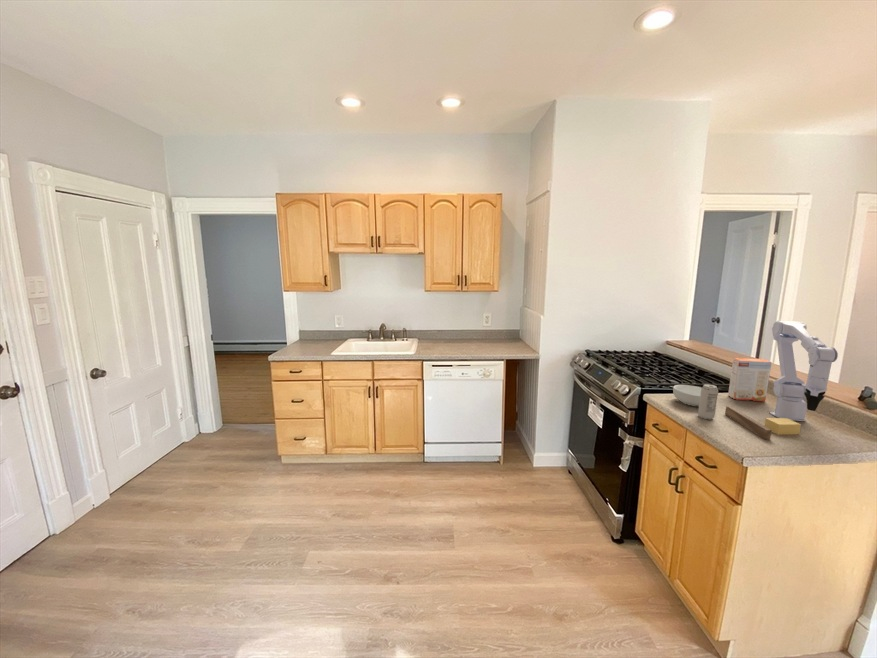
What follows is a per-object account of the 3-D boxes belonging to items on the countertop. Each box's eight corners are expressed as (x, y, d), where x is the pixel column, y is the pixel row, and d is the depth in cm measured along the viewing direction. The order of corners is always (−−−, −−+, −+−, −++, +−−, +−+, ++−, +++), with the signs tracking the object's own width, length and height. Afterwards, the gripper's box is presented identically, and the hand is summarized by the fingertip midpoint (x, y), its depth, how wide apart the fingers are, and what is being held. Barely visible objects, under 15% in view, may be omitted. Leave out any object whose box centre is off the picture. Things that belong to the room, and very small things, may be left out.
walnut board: (729, 414, 165) (731, 406, 164) (770, 439, 142) (771, 430, 141) (724, 414, 165) (726, 406, 165) (764, 439, 142) (766, 429, 141)
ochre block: (784, 427, 152) (786, 418, 151) (798, 434, 146) (800, 424, 145) (763, 428, 152) (765, 418, 151) (777, 434, 146) (779, 424, 145)
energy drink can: (707, 414, 165) (711, 383, 162) (717, 420, 159) (722, 388, 156) (694, 414, 165) (698, 383, 162) (704, 420, 159) (708, 388, 156)
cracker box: (758, 397, 185) (764, 358, 181) (765, 402, 179) (772, 362, 176) (726, 395, 188) (732, 357, 184) (733, 399, 183) (739, 360, 179)
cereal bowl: (720, 411, 168) (722, 397, 167) (680, 408, 172) (682, 394, 170) (701, 398, 185) (703, 385, 183) (666, 396, 188) (667, 383, 187)
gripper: (805, 370, 151) (799, 401, 154) (802, 377, 142) (796, 410, 144) (830, 374, 146) (823, 406, 148) (828, 382, 137) (821, 415, 139)
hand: (811, 408), depth 146 cm, fingers open, 5 cm apart
